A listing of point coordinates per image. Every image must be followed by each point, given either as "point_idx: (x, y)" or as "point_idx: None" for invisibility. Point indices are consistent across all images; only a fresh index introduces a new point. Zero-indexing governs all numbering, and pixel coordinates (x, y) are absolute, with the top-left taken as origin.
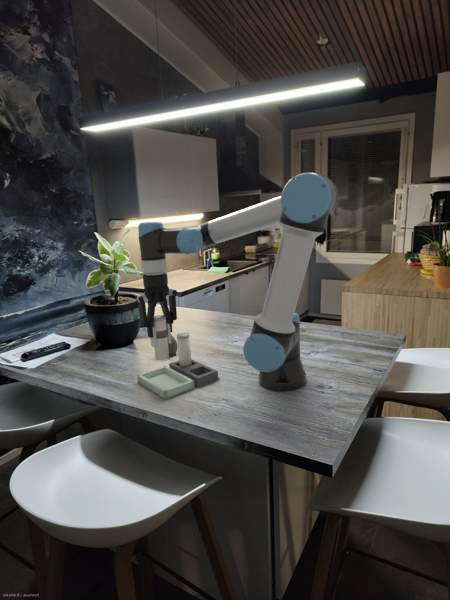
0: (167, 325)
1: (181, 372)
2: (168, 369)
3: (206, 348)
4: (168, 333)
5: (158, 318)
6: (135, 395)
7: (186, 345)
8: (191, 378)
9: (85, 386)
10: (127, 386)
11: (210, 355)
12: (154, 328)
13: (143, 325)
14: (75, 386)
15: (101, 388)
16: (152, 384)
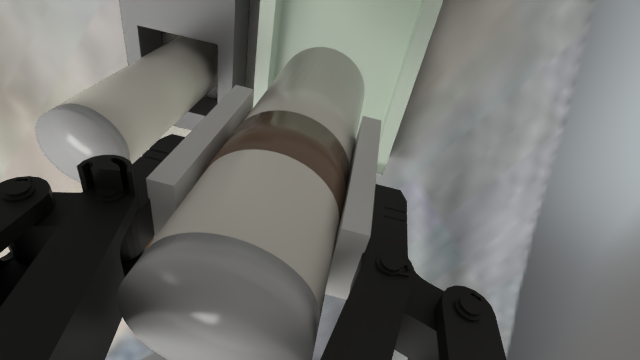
0: (181, 182)
1: (239, 35)
2: None
3: (24, 151)
4: (220, 129)
5: (260, 302)
6: (489, 75)
7: (118, 86)
8: None
9: (497, 272)
10: (433, 163)
11: (36, 91)
12: (356, 226)
13: (485, 329)
14: (509, 293)
15: (488, 225)
16: (428, 41)
